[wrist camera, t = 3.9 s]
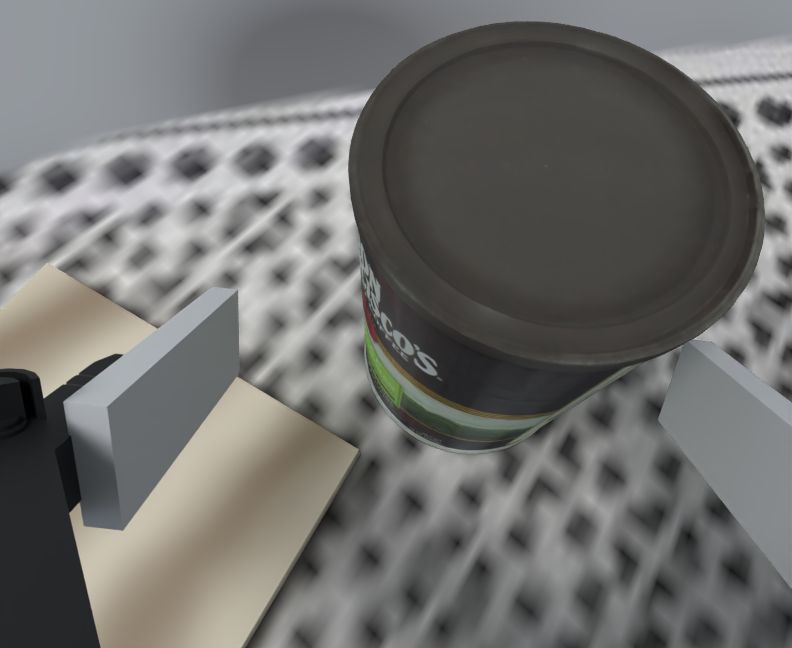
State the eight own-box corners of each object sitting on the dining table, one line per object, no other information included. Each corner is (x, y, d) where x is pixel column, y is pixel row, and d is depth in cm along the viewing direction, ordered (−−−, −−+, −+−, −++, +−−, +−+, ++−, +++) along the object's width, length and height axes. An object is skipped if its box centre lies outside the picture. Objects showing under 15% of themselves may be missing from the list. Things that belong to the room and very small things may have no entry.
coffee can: (397, 484, 23) (419, 421, 10) (342, 287, 27) (306, 54, 14) (603, 422, 24) (860, 294, 11) (524, 243, 28) (648, -9, 15)
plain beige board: (360, 454, 23) (358, 449, 22) (178, 762, 19) (162, 780, 18) (64, 276, 26) (47, 262, 25) (-153, 506, 22) (-189, 504, 21)
